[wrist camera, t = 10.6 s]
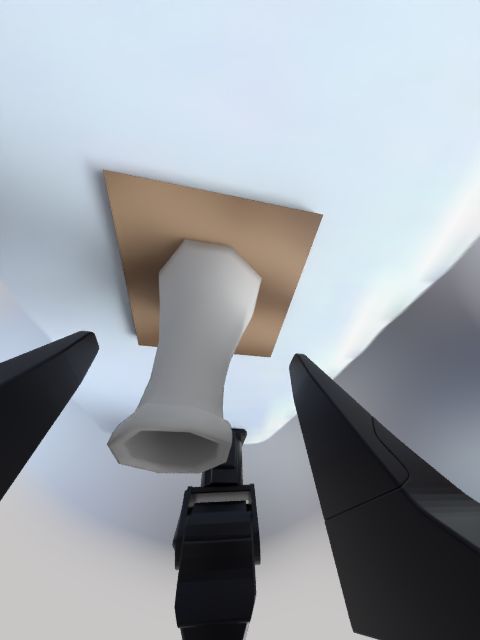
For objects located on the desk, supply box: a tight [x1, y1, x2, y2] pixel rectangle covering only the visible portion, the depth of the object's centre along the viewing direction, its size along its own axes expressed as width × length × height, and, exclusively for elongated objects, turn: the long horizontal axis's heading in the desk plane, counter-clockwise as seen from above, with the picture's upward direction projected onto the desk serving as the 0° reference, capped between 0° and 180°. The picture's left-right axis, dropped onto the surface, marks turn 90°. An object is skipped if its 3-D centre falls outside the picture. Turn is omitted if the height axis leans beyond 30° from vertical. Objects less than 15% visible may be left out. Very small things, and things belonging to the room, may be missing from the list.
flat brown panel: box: [103, 170, 323, 357], centre depth 14 cm, size 12×12×2 cm
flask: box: [107, 239, 262, 473], centre depth 9 cm, size 7×7×10 cm
